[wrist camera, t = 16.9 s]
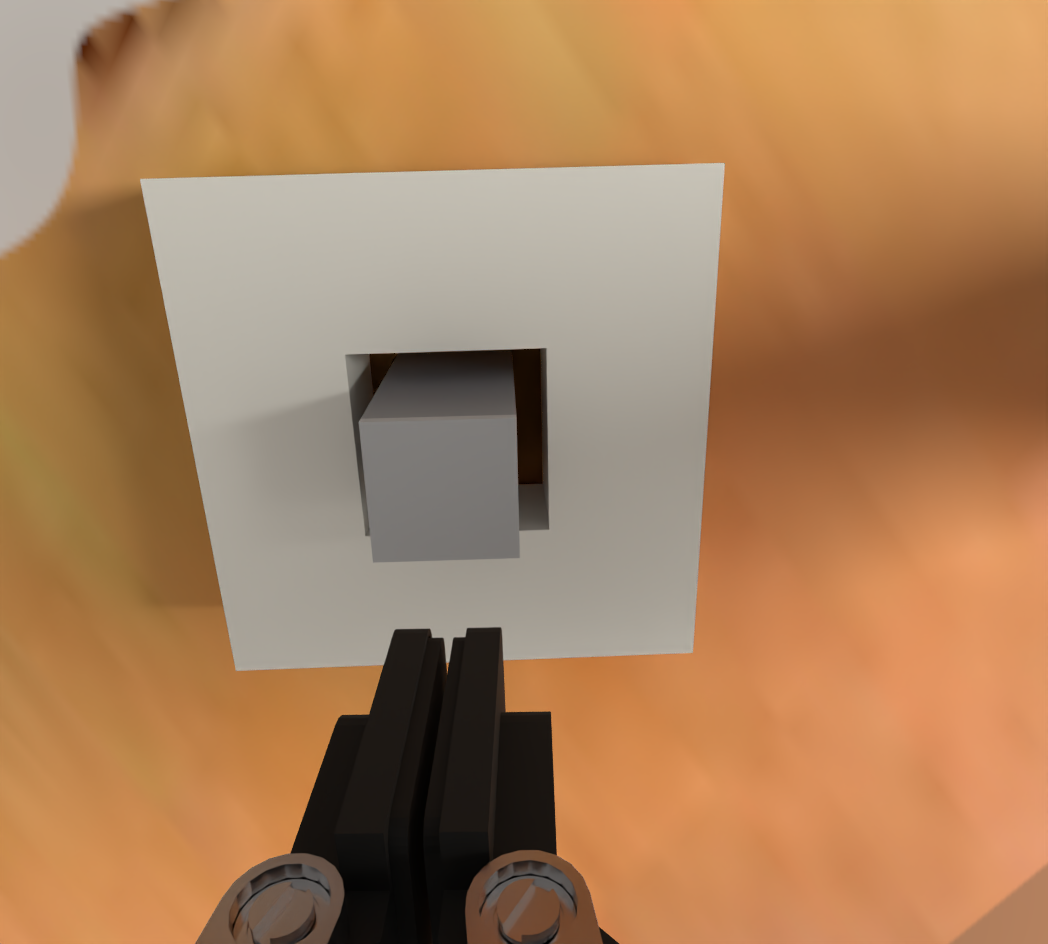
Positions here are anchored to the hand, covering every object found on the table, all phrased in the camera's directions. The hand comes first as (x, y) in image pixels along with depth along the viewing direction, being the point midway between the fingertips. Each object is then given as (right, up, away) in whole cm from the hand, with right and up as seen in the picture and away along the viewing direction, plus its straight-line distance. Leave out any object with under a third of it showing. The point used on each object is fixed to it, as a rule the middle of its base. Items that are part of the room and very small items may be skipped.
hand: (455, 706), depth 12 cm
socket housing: (-1, +6, +16) cm, 17 cm away
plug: (-1, +6, +16) cm, 17 cm away
